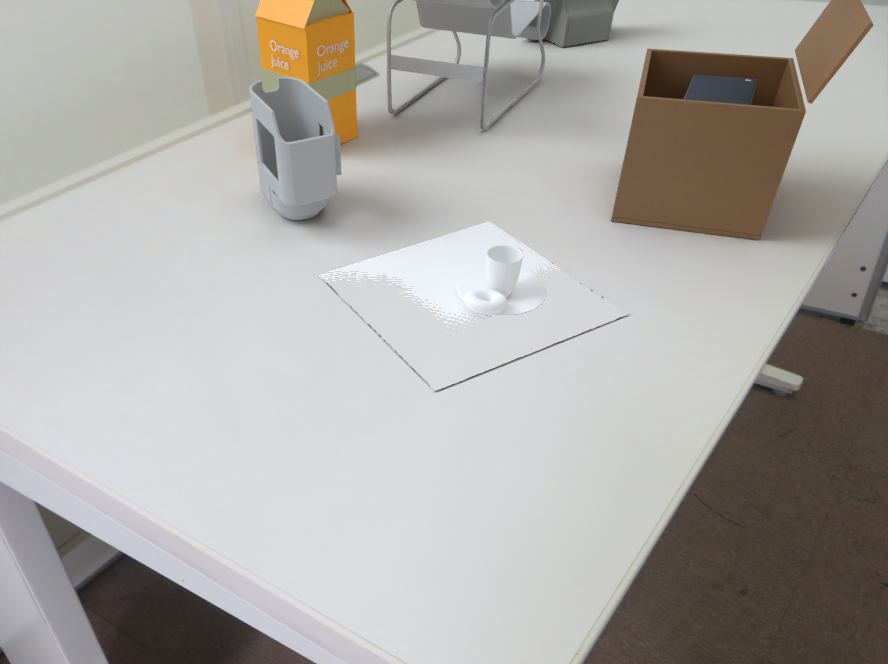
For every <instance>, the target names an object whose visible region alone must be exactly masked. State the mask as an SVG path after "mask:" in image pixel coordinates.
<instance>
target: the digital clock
mask: <svg viewBox="0 0 888 664" xmlns="http://www.w3.org/2000/svg"><path fill="white" fill-rule="evenodd" d="M533 1H537V2H540V0H533ZM544 2H547V3H549V4H550V6H551V17H550V23H549V27H548V30H547V33H546V35H545V37H544V38H543V39H542V40H545V39H546V40H545V41H547V40H548V42H549V41H550V42H549V43H551V42H552V43H551V44H553V43H555V44H556V46H557V45H558V46H557V47H559V48H566V47H574V46H580V45H585V43H586V44H592V43H597V42H603V40H604V41H608V40H610V37H611V31H612V25H613V20H614V13H615V11H616V9H617V7H618V4H619V2H620V0H544ZM525 39H526V40H528V41H538V40H537V39H529V38H525ZM591 42H592V43H591ZM555 44H554V45H555ZM579 44H580V45H579ZM573 45H574V46H573Z"/></svg>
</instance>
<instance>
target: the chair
mask: <svg viewBox="0 0 888 664" xmlns="http://www.w3.org/2000/svg"><path fill="white" fill-rule="evenodd" d="M403 1H404V0H394V1H392V3H391V4H390V5H389V8H388V10H387V16H386V87H387V90H386V91H387V111H388V113H389V114H390V115H396V114H398V113H399V112H400V111H402V110H403V109H404V108H406V107H407V106H409V105H410V104H411V103H412V102H414V101H415V100H416V99H419V97H421V96H422V95H423V94H424V93H427V92H428V91H429V90H431V88H433V87H434V86H436V85H438V84H439V83H440V82H441V81H442V80H444V79H445V78H448V79H454V80H460V81H467V82H474V83H482V89H481V105H480V106H481V107H480V120H479V121H480V122H479V127H480V129H481V130H482V131H487V130H489V128H490V127H492V126H493V124H495V123H496V122H497V121H498V120H499V119H500V118H501V117H502V116H503V115H505V114H506V113H507V112H508V111H509V110H510V109H511V108H512V107H513V106H515V104H517V103H518V102H519V101H520V100H521V99H522V98H523V97H524V96H525V95H526V94H527V93H528V92H529V91H531V90H532V89H533V88H534V87H535V86H536V85H537V84H538V83H539V82H540V81H541V79H542V76H543V74H544V69H545V67H546V66H545V65H546V52H545V47H544V42H543V40H544V39H543V38H544V37H545V35H546V33H547V30H548V27H549V23H550V17H551V6H550V4H549V3H547V2H544V0H540V2H537V1H534V0H413V1H415V3H416V4H415V5H416V8H417V14H418V20H419V25H420V27H421V28H424V29H429V30H438V31H447V32H452V34H453V37H454V39H455V43H456V56H455V60H454V62H447V61H441V60H440V61H439V60H434V59H433V60H432V59H425V58H418V57H410V56H404V55H397V54H392V18H393V13H394V10H395V8H396V7H397V6H398V5H399V4H400V3H402V2H403ZM458 33H463V34H470V35H480V36H485V37H486V38H485V46H484V47H485V48H484V62H483V66H476V65H469V64H468V65H467V64H461V63H460V61H461V56H462V45H461V41H460V39H459V35H458ZM492 37H495V38H503V39H513V40H515V39H517V38H520V39H521V38H522V39H526V38H529V39H537V40H536V41H538V44H539V49H540V55H541V57H540V58H541V59H540V67H539V70H538V74H537V76H536V78H535V79H534V80H533V81H532V82H531V83H530V84H528V85H527V86H526V87H524V89H523V90H522V91H521V92H520V93H518V94H517V95H516V96H515V97H514V98H513V99H512V100H511V101H509V103H508V104H506V105H505V106H503V108H502V109H501V110H500V111H499V112H497V113H496V115H494V116H493V117H492V118H491V119H490V120H488V121H487V123H486V122H485V120H486V119H485V118H486V103H487V102H486V101H487V89H488V88H487V87H488V72H489V71H488V70H489V62H490V49H491V48H490V47H491V38H492ZM392 70H394V71H400V72H407V73H414V74H420V75H426V76H435V77H437V78H435V79H434V80H432V81H431V82H430V83H428V84H427V85H425V86H424V87H423V88H421V89H420V90H418V91H417V92H416V93H414V94H413V95H412V96H410V97H409V98H408V99H406V100H405V101H404V102H402V103H401V104H399V105H398V106H397V107H395V108H393V102H392V101H393V100H392V99H393V98H392V96H393V95H392Z"/></svg>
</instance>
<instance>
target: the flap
mask: <svg viewBox="0 0 888 664" xmlns="http://www.w3.org/2000/svg"><path fill="white" fill-rule="evenodd" d="M874 26H875V25H874V23H873V21H872V19H871V17H870V15H869V13H868V12H867V9H866V8H865V6H864V4H863V2H862V0H830V1H829V2H828V4H826V7H825V8H824V9H823V10H822V12H821V13H820V14H819V16H818V18H817V19H816V20H815V21H814V23H813V24H812V26H810V28H809V30H808V31H807V32H806V34H805V35H804V37H803V38H802V39H801V41H800V42H799V43H798V44H797V46H796V48H795V49H794V53H795V57H796V60H797V65H798V69H799V73H800V78H801V81H802V85H803V90H804V93H805V97H806V101H807V103H809V104H810V105H812V104H813V103H814V102H815V101H816V99H818V97H819V95H821V93H822V92H823V91H824V89H825V88H826V87H827V85H828V84H829V83H830V81H831V80H832V78H834V76H835V75H836V74H837V73H838V71H839V70H840V69H841V68H842V66H843V65H844V64H845V62H846V61H847V60H848V58H849V57H850V56H851V55H852V54H853V52H854V51H855V50H856V49H857V47H858V46H859V45H860V44H861V42H862V41H863V39H864V38H865V37H866V36H867V34H868V33H869V32H870V31H871V29H872V28H873V27H874Z"/></svg>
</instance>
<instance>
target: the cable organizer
mask: <svg viewBox="0 0 888 664" xmlns="http://www.w3.org/2000/svg"><path fill="white" fill-rule="evenodd" d="M248 92H249V99H250V107H251V117H252V124H253V134H254V144H255V151H256V159H257V168H258V176H259V186H260V192H261V194H262V195H263V196H264V197H265V199H267V201H268V203H269V204H270V205H271V206H272V207H273V209H274V210H275V211H276V212H277V213H278V214H279V215H280V216H281V217H283V218H285V219H287V220H290V221H306V220H309V219H312V218H314V217H317V215H318V214H320V213H321V211H322V210H323V209H324V208H325V207H326V205H327V204H328V200H329V199H333V198H335V197H336V196H337V194H338V178H337V176H342V150H341V144H340V136H338V135H335V131H334V124H333V120H332V116H331V111H330V107H329V103H328V101H327V100H326V99H324V98H323V97H322V96H321V95H320V94H318V93H317V92H316V91H315V90H314V89H312V88H311V87H310V86H309V85H308V84H306V83H305V82H304V81H302V80H300V79H297V78H291V77H278V88H277V89H276V90H272V91H267V92H265V91H264V90H263V84H262V79H259V80H257V81H255V82H253V83H252V84H250V86H249V88H248Z"/></svg>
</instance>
